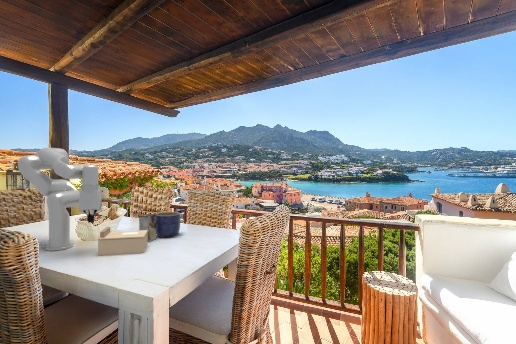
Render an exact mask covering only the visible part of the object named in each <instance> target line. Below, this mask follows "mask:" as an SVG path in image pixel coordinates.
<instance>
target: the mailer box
mask: <svg viewBox="0 0 516 344" xmlns="http://www.w3.org/2000/svg"><path fill="white" fill-rule="evenodd" d="M97 243H98V244H97V256H98V257H99V256H113V255H128V254H144V253H145V251H146V249H147V246H148V243H147V233H146V235H145V237H144V238H126V239H105V240H98V239H97Z"/></svg>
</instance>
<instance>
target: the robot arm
mask: <svg viewBox="0 0 516 344" xmlns="http://www.w3.org/2000/svg"><path fill="white" fill-rule="evenodd" d="M69 163H70V159H69V154H68V152H67V151H66V150H65V149H63V148H58V147H57V148H56V147H43V148H40V149H39V150H38V151H37V155H36V154H32V155H31V154H30V155H28V154H27V155H25V156H24V155H23V156H21V157H20V158H19V159H18V162H17V168H18V170H19V172H20V174H21V175H22V176H23V177H24V178H25V180H27V181H28V182H30V183H31V184H32V185H33V186H34V188H35V189H37V191H38V192H39V193H40V194H41V195H42V196H45V197H46V206H47V209H48V211H47V212H48V240H42V241H40V245H41V246H45V249H44V250H46V251H53V252H54V251H55V252H56V251H61V250H68V249H70V248H72V247H73V246H74V243H72V242H71V241H70V240H71V238H70V235H71V234H70V232H71V231H70V227H71V226H70V220H71V217H70V213H69V212H68V210H67V208H72V207H77V206H78V212H81V213H84V214H85V215H86V221H87V222H88V224H89V223H90V224H91V223H93V222H94V221H95V215H96V214H97V212H101V211H102V210H103V208H102V206H103V201H102V195H101V190H100V189H99V167H98V165H95V164H69ZM42 170H43V171H45V170H53V172H54V173H55V174H56V175H57V176H60V177H61V178H62V179H53V178H51V177H50V176H49V175H48V174H47V173H45V172H43V171H42ZM75 179H76V180H77V179H81V185H79V187H78V189H80V191H79V190H78V189H77V188H76V187H75V185H73V184H72V183H71V181H69V180H75Z"/></svg>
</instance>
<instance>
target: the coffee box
mask: <svg viewBox="0 0 516 344" xmlns="http://www.w3.org/2000/svg"><path fill="white" fill-rule="evenodd" d="M138 219H139V220H138V223H139V225H138V227H139V229H138V230H148V232H147V244H148V243H150V242H153V241H154V240H157V234H156V213H146V214H142V215H139V216H138Z"/></svg>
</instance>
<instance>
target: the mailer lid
mask: <svg viewBox="0 0 516 344" xmlns="http://www.w3.org/2000/svg"><path fill="white" fill-rule="evenodd" d="M147 232H148V230H139V229H137V230H115V231H113V230H112V231H111V226H106V227H105V228H104V229H102V230H101V231H100V232H99V237H97V241H98V240H105V239H126V238H144V237H145V235H146V233H147Z"/></svg>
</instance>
